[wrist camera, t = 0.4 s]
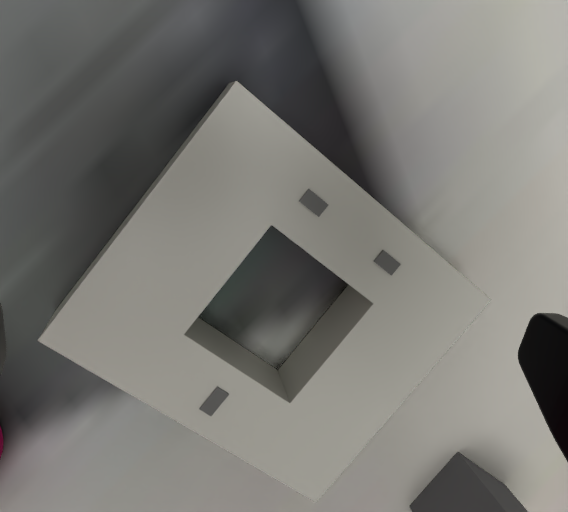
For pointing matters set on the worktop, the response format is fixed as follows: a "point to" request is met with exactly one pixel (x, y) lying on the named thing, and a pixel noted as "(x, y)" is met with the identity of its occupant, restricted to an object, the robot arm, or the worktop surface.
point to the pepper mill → (1, 442)
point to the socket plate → (220, 266)
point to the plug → (465, 491)
